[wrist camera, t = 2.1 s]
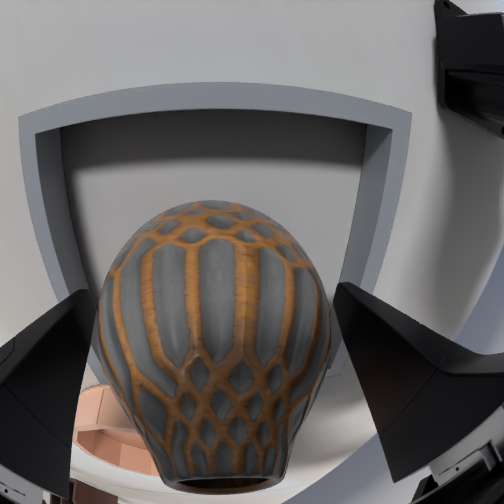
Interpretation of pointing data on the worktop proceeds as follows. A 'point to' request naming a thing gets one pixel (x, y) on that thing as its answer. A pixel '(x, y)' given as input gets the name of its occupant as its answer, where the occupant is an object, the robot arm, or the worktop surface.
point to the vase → (214, 344)
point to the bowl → (109, 432)
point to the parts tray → (206, 98)
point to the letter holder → (84, 495)
